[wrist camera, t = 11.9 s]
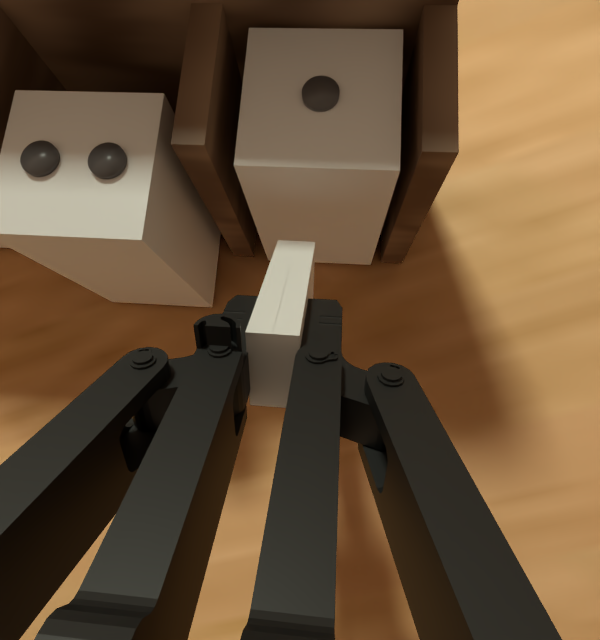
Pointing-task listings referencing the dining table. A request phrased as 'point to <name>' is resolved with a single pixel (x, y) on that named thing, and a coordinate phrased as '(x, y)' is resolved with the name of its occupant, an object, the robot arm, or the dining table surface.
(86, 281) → the key two
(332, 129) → the key one
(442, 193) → the dining table surface
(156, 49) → the brown slotted rack
